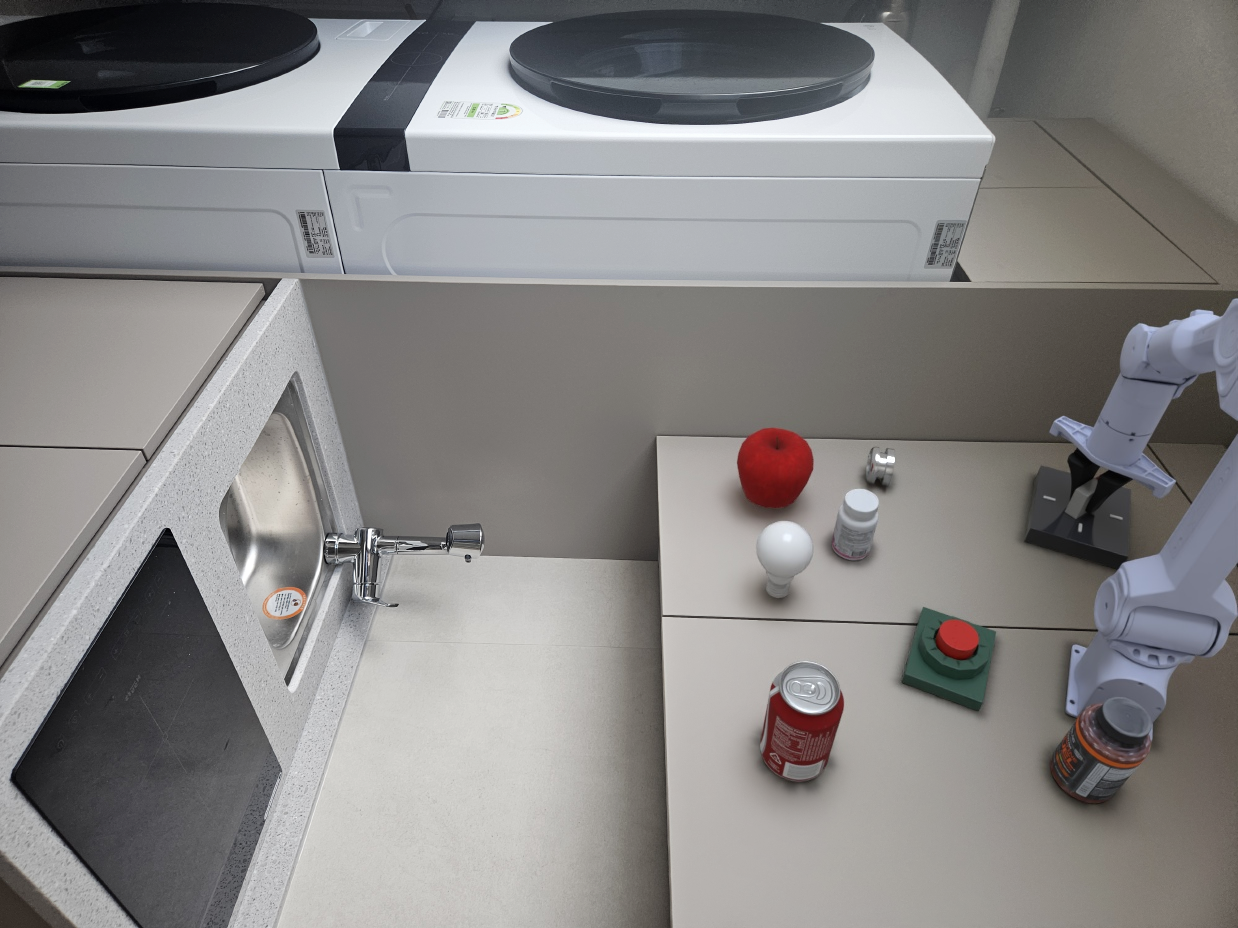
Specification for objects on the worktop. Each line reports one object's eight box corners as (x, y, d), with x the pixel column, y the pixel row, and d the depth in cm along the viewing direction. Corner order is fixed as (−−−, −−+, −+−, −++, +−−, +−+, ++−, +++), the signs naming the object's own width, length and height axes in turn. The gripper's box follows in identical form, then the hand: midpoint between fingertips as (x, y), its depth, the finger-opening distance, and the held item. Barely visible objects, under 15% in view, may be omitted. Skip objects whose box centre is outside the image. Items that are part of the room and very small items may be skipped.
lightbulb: (784, 622, 93) (796, 560, 86) (739, 594, 96) (747, 531, 89) (813, 590, 97) (828, 527, 89) (770, 564, 100) (780, 501, 92)
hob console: (1120, 570, 98) (1128, 555, 96) (1024, 541, 102) (1030, 526, 100) (1123, 502, 107) (1131, 488, 105) (1034, 478, 110) (1041, 464, 109)
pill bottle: (837, 528, 104) (849, 481, 98) (874, 541, 102) (887, 494, 97) (825, 552, 101) (836, 505, 95) (862, 566, 99) (876, 519, 94)
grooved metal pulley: (887, 493, 109) (895, 465, 105) (864, 489, 109) (871, 462, 106) (887, 468, 112) (894, 441, 109) (865, 465, 113) (872, 438, 110)
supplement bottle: (1040, 745, 81) (1081, 682, 74) (1101, 750, 81) (1149, 687, 73) (1058, 803, 77) (1104, 742, 69) (1123, 808, 76) (1177, 748, 69)
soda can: (827, 790, 78) (848, 725, 70) (757, 778, 79) (770, 713, 71) (826, 727, 83) (846, 660, 75) (760, 717, 84) (773, 650, 76)
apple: (747, 530, 104) (755, 468, 97) (722, 481, 111) (728, 420, 104) (818, 516, 106) (831, 454, 98) (789, 469, 113) (800, 408, 105)
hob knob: (1075, 519, 101) (1088, 495, 98) (1064, 511, 102) (1076, 487, 99) (1099, 503, 103) (1112, 479, 100) (1088, 496, 104) (1100, 472, 101)
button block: (978, 711, 84) (988, 692, 82) (901, 682, 87) (908, 663, 85) (992, 640, 91) (1001, 621, 89) (919, 615, 94) (926, 596, 91)
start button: (971, 665, 85) (975, 655, 84) (932, 651, 86) (936, 641, 85) (977, 637, 87) (981, 627, 86) (939, 624, 89) (943, 614, 88)
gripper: (1209, 441, 90) (1157, 525, 99) (1091, 378, 99) (1053, 460, 108) (1173, 465, 87) (1123, 549, 96) (1055, 398, 96) (1019, 480, 106)
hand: (1084, 504), depth 102 cm, fingers closed on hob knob, 2 cm apart
